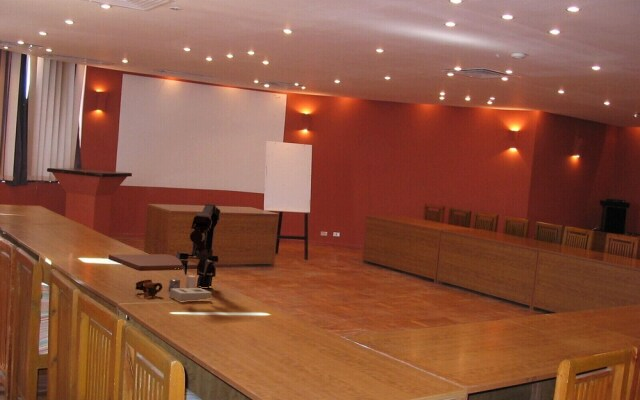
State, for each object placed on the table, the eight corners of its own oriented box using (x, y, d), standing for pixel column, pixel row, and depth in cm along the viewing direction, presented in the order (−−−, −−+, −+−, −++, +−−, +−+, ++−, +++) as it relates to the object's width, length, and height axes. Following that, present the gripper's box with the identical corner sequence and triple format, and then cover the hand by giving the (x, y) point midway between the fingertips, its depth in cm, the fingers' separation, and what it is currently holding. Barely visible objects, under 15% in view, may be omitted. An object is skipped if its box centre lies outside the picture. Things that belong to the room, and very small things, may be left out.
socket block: (199, 296, 331) (200, 288, 330) (210, 301, 323) (211, 292, 323) (169, 297, 320) (170, 288, 320) (179, 302, 313) (180, 293, 313)
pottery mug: (138, 298, 312) (134, 281, 314) (136, 303, 320) (133, 286, 322) (165, 293, 316) (161, 275, 318) (163, 298, 324) (159, 281, 327)
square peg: (190, 291, 338) (192, 275, 338) (194, 293, 336) (196, 276, 336) (184, 291, 336) (186, 275, 336) (188, 293, 334) (190, 276, 333)
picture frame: (108, 259, 399) (138, 271, 376) (108, 254, 399) (139, 265, 376) (167, 259, 428) (199, 269, 405) (168, 254, 428) (200, 264, 405)
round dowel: (175, 291, 335) (177, 278, 335) (180, 293, 331) (182, 281, 331) (166, 291, 332) (167, 278, 332) (171, 293, 328) (172, 281, 328)
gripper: (185, 242, 310) (181, 277, 310) (224, 245, 320) (220, 279, 320) (177, 239, 320) (173, 273, 320) (216, 242, 329) (211, 275, 329)
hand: (195, 275), depth 322 cm, fingers open, 9 cm apart
